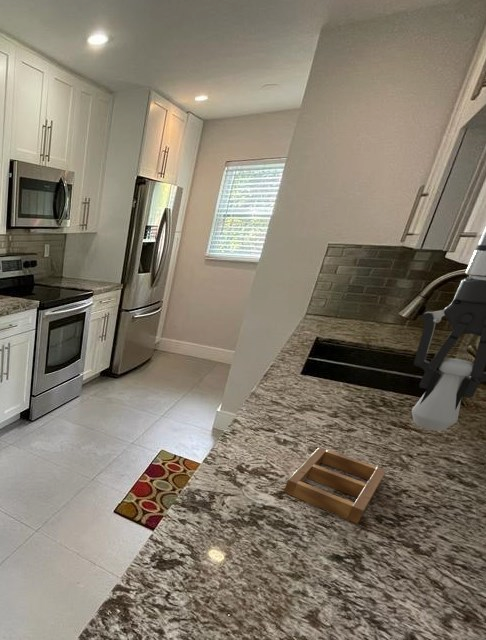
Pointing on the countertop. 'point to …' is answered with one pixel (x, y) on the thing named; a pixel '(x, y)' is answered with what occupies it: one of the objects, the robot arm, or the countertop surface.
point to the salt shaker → (442, 397)
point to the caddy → (336, 483)
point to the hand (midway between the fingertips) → (436, 408)
